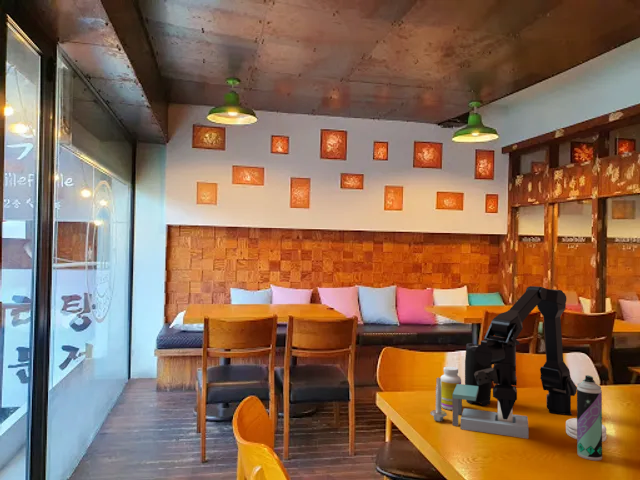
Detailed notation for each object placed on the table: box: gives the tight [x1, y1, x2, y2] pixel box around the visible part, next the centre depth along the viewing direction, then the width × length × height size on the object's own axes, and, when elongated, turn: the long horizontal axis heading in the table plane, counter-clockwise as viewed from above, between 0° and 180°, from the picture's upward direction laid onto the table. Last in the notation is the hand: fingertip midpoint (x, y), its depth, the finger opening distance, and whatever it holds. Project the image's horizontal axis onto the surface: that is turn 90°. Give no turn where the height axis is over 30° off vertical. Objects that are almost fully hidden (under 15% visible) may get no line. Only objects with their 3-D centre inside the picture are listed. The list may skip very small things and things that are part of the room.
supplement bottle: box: [440, 366, 462, 411], centre depth 157 cm, size 7×7×13 cm
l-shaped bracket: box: [452, 383, 478, 427], centre depth 145 cm, size 6×12×9 cm, turn 158°
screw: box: [429, 376, 448, 423], centre depth 145 cm, size 13×5×5 cm
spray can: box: [576, 374, 603, 461], centre depth 120 cm, size 6×6×20 cm
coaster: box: [565, 417, 607, 443], centre depth 134 cm, size 10×10×4 cm
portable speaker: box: [464, 342, 492, 407], centre depth 163 cm, size 9×9×20 cm
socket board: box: [460, 407, 529, 439], centre depth 139 cm, size 18×10×3 cm, turn 68°
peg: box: [497, 400, 514, 423], centre depth 138 cm, size 4×4×9 cm
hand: (505, 415), depth 138 cm, fingers open, 6 cm apart
